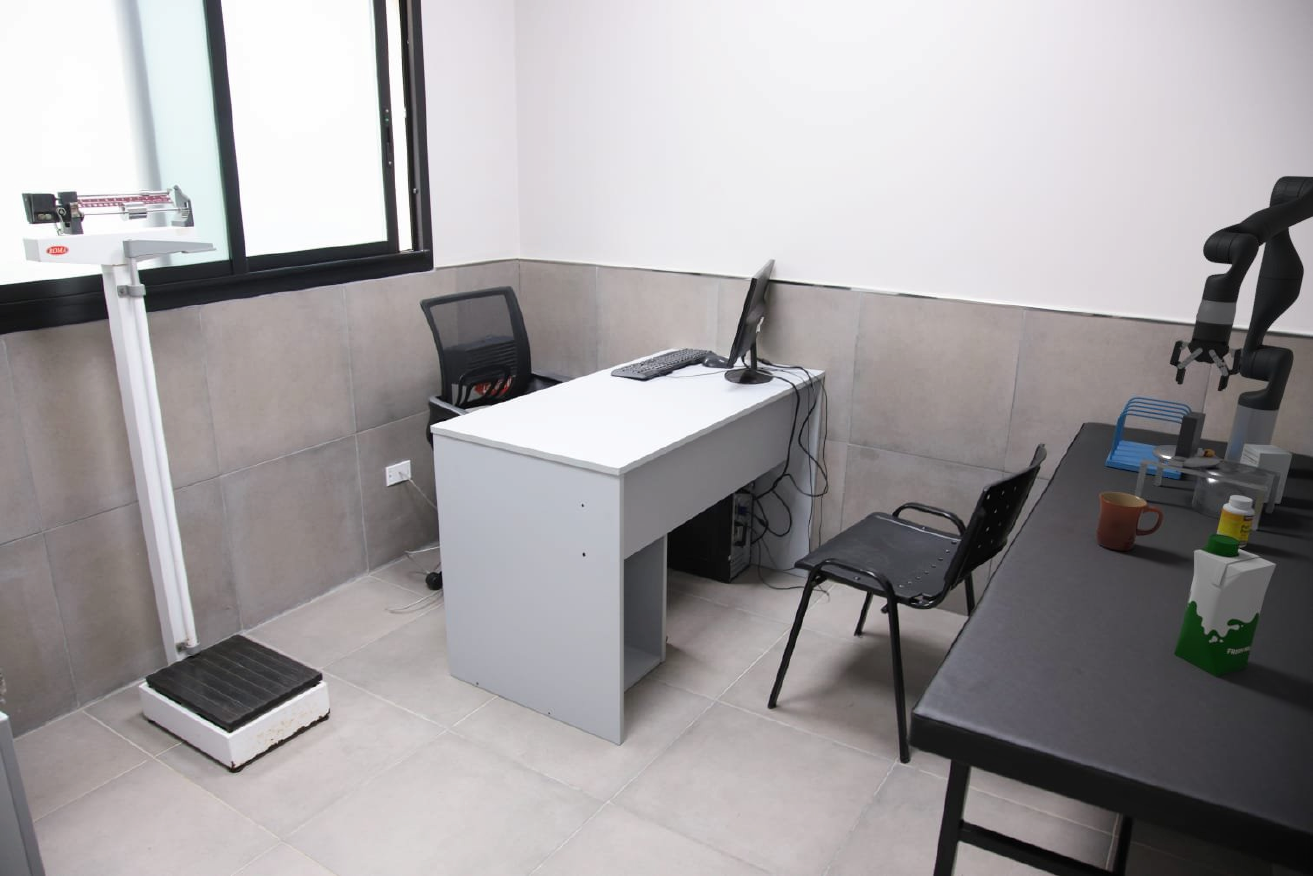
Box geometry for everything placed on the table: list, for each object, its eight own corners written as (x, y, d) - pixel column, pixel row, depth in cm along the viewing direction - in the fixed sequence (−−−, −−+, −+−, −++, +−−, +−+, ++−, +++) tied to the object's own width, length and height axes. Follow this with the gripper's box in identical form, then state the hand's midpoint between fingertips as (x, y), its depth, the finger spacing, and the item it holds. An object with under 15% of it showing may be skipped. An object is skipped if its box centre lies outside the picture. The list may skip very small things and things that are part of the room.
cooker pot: (1133, 499, 208) (1141, 459, 205) (1154, 484, 219) (1162, 446, 216) (1255, 530, 191) (1266, 487, 188) (1272, 512, 202) (1282, 471, 199)
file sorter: (1179, 481, 222) (1192, 423, 218) (1104, 467, 231) (1115, 411, 227) (1184, 457, 243) (1196, 403, 238) (1115, 445, 252) (1125, 393, 247)
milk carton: (1201, 642, 143) (1228, 529, 137) (1256, 670, 135) (1287, 552, 129) (1164, 652, 139) (1190, 537, 134) (1218, 681, 131) (1249, 560, 126)
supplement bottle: (1238, 551, 180) (1249, 504, 177) (1209, 541, 184) (1220, 496, 181) (1251, 545, 183) (1262, 500, 180) (1222, 536, 187) (1233, 491, 184)
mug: (1090, 548, 178) (1099, 502, 175) (1090, 534, 186) (1098, 488, 183) (1157, 561, 174) (1167, 513, 171) (1153, 545, 181) (1163, 499, 178)
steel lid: (1142, 458, 205) (1151, 414, 201) (1163, 445, 216) (1172, 403, 213) (1208, 473, 195) (1218, 427, 192) (1226, 458, 207) (1237, 415, 203)
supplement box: (1263, 493, 215) (1275, 444, 211) (1280, 504, 208) (1293, 454, 204) (1231, 491, 215) (1243, 443, 212) (1248, 502, 208) (1260, 452, 205)
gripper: (1253, 322, 202) (1237, 390, 206) (1185, 314, 211) (1171, 379, 216) (1246, 326, 197) (1229, 395, 201) (1176, 317, 206) (1162, 384, 211)
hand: (1199, 387), depth 209 cm, fingers open, 8 cm apart
